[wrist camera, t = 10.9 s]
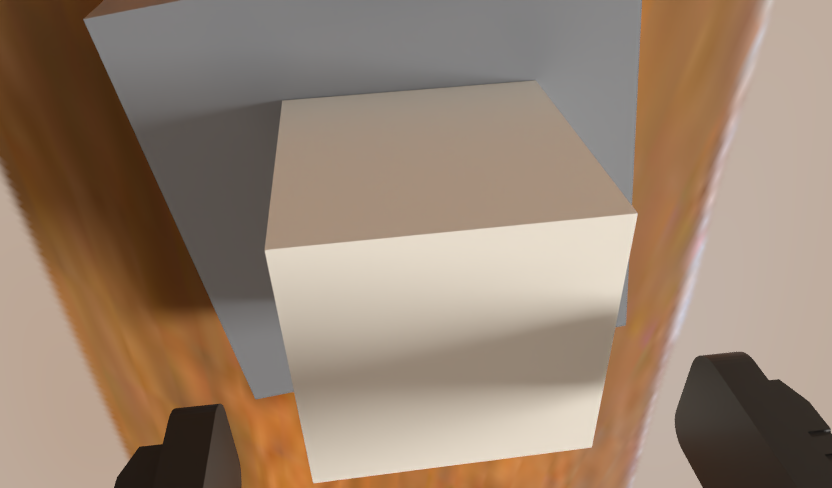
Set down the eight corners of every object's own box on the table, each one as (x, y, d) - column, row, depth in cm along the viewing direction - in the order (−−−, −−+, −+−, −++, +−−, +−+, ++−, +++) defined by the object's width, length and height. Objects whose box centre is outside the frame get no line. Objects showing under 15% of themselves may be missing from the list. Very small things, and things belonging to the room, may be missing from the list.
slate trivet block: (138, -33, 17) (83, 18, 13) (570, -116, 18) (646, -91, 13) (266, 298, 24) (255, 399, 20) (575, 237, 24) (625, 325, 20)
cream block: (282, 100, 15) (264, 249, 10) (535, 80, 15) (637, 213, 10) (314, 299, 18) (313, 482, 13) (520, 277, 19) (591, 447, 14)
